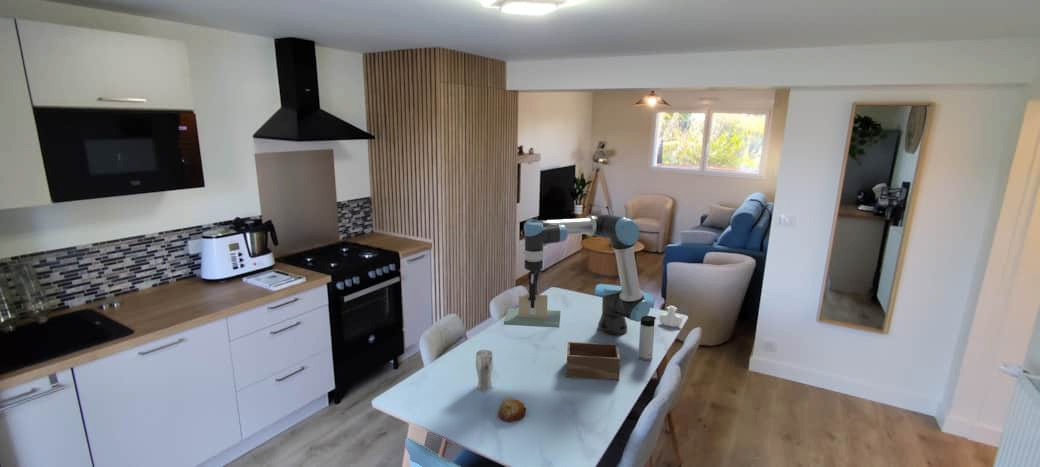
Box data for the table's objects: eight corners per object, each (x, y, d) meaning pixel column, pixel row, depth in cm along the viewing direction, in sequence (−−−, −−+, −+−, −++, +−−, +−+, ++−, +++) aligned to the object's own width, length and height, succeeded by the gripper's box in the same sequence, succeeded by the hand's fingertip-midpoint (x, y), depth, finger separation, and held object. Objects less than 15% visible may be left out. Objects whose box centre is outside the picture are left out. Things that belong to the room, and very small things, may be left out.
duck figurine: (681, 330, 260) (684, 310, 265) (681, 326, 254) (683, 305, 258) (658, 326, 265) (661, 307, 269) (657, 322, 258) (660, 302, 263)
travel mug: (653, 361, 220) (656, 320, 216) (638, 360, 222) (641, 319, 217) (652, 355, 226) (655, 315, 222) (638, 353, 228) (640, 313, 223)
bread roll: (502, 416, 185) (493, 399, 183) (526, 404, 184) (518, 387, 183) (504, 432, 175) (494, 414, 173) (529, 420, 175) (520, 402, 173)
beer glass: (495, 384, 200) (495, 350, 197) (489, 393, 194) (489, 358, 190) (480, 381, 202) (479, 348, 199) (473, 389, 196) (472, 355, 193)
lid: (508, 311, 216) (508, 289, 214) (560, 314, 213) (560, 291, 211) (503, 324, 201) (503, 300, 199) (559, 327, 199) (559, 303, 196)
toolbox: (567, 362, 219) (567, 341, 217) (616, 365, 217) (617, 344, 215) (566, 377, 206) (567, 355, 204) (619, 380, 203) (620, 359, 201)
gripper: (526, 254, 210) (526, 305, 215) (522, 264, 194) (522, 319, 199) (543, 254, 209) (543, 306, 214) (541, 265, 193) (540, 320, 198)
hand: (532, 312), depth 207 cm, fingers closed on lid, 3 cm apart
